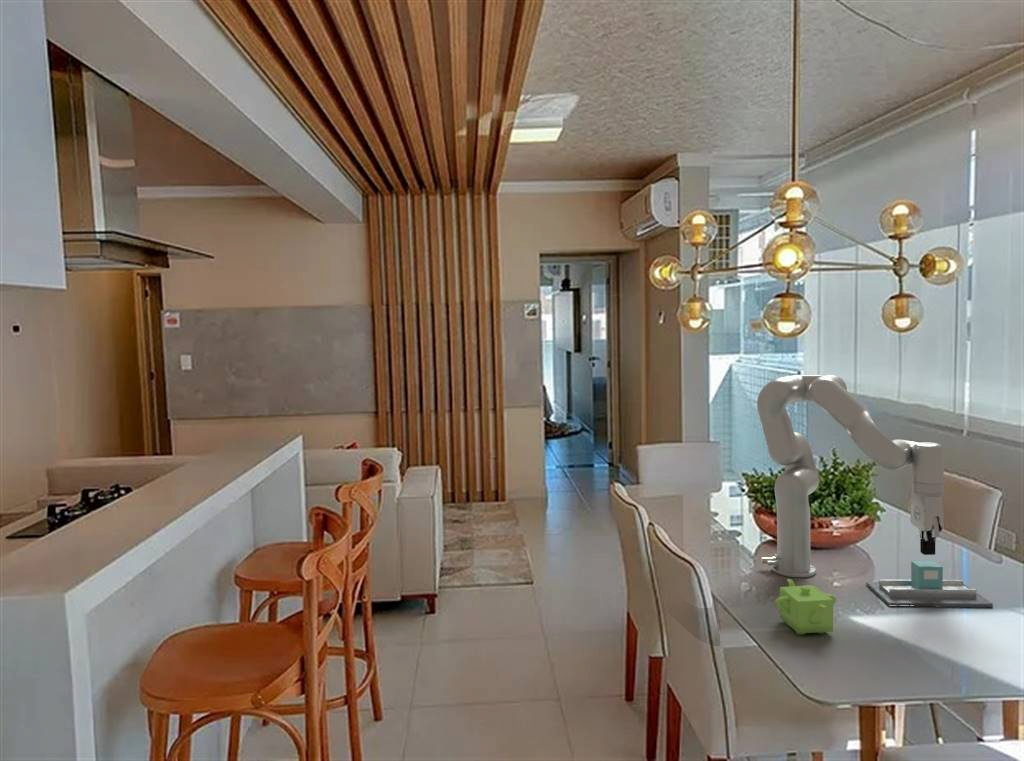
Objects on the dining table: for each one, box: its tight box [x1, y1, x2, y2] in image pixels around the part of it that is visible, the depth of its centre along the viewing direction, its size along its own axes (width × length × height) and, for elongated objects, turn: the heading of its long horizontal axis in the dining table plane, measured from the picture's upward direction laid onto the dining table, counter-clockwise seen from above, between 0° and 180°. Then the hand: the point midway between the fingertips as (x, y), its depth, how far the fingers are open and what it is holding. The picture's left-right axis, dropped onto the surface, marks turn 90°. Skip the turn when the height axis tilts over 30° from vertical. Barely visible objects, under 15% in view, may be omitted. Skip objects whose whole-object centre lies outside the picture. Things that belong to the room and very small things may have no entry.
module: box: [910, 560, 944, 589], centre depth 199 cm, size 6×5×7 cm
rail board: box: [865, 578, 994, 608], centre depth 200 cm, size 26×16×3 cm, turn 84°
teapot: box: [774, 578, 837, 636], centre depth 181 cm, size 20×15×11 cm
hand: (927, 553), depth 199 cm, fingers closed
